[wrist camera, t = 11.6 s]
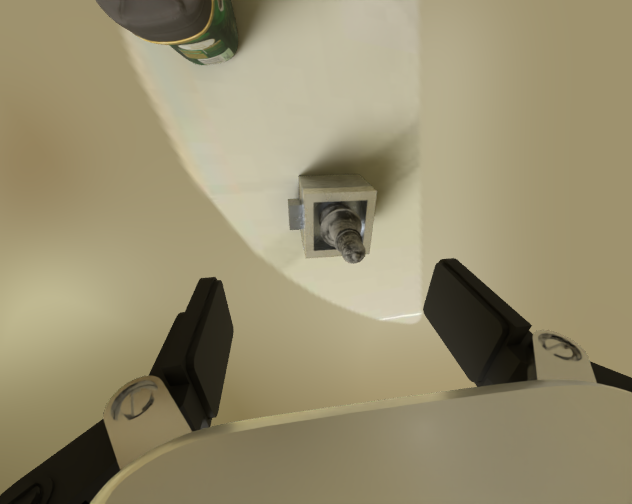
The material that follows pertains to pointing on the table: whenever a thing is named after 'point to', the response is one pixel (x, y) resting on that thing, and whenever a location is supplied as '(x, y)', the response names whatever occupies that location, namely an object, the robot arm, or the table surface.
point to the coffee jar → (181, 25)
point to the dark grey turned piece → (342, 231)
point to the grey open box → (320, 194)
